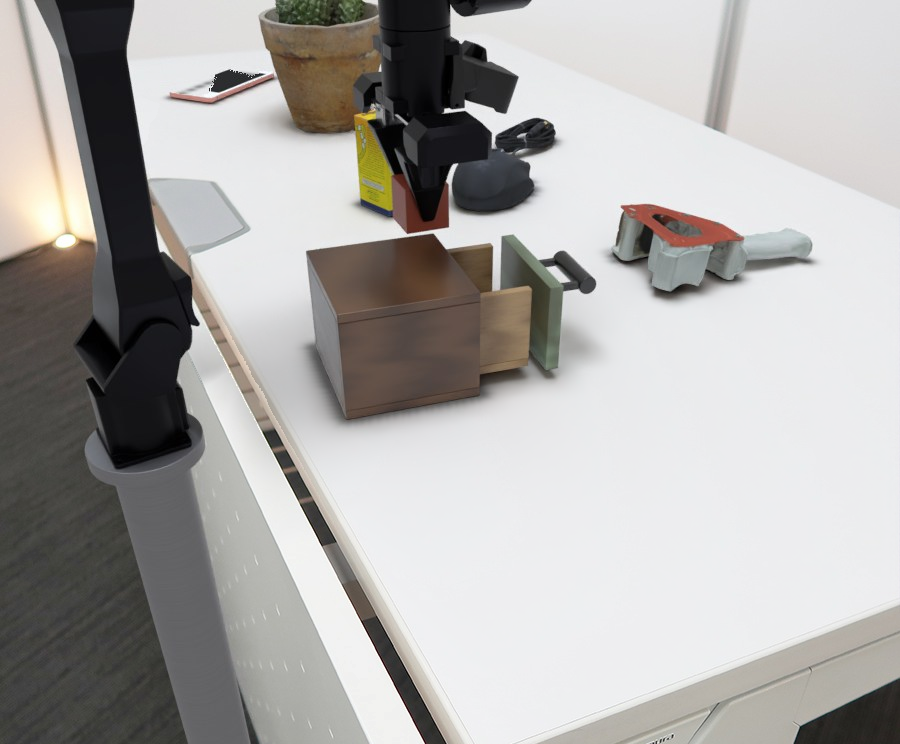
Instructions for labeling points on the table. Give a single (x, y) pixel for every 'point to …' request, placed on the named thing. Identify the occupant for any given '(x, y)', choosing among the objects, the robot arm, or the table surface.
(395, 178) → the block
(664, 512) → the table surface
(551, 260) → the drawer
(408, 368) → the cabinet
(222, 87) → the cell phone
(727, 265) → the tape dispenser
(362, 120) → the supplement box
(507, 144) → the computer mouse
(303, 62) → the potted plant
